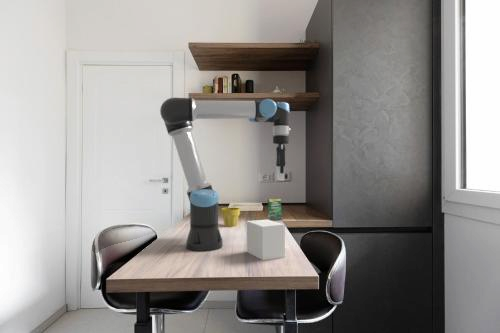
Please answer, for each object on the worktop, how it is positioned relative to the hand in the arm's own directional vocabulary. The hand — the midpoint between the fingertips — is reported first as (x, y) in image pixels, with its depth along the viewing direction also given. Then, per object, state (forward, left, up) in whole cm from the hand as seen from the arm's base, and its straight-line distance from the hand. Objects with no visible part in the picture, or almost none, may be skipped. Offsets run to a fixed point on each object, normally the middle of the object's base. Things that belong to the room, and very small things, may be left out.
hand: (280, 180), depth 155 cm
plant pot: (-10, +37, -27) cm, 47 cm away
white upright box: (-21, -24, -27) cm, 42 cm away
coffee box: (+22, +43, -27) cm, 55 cm away
